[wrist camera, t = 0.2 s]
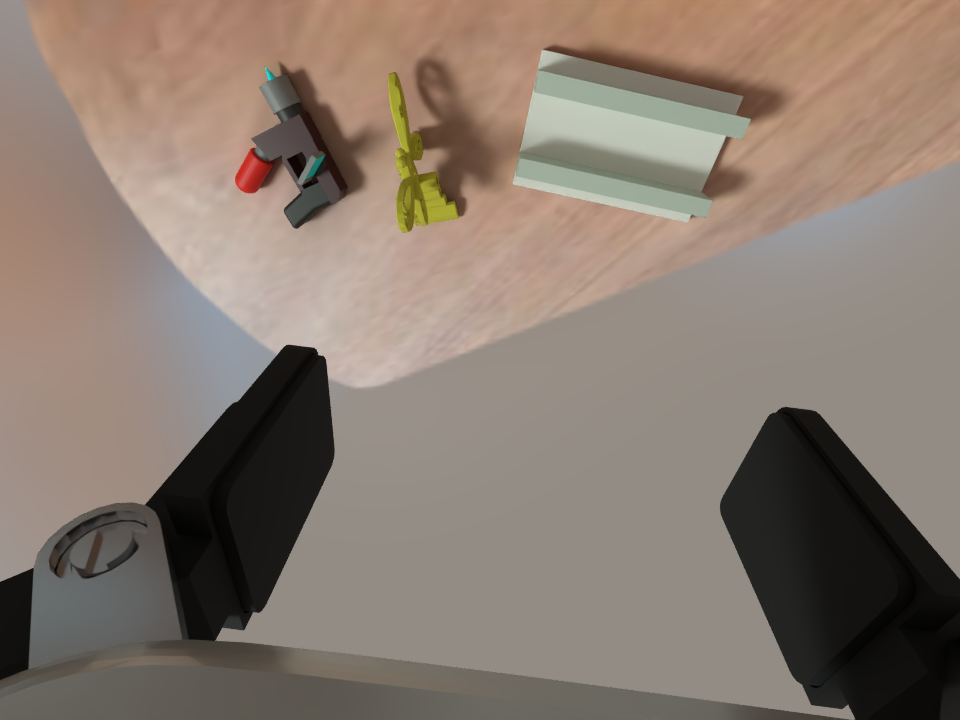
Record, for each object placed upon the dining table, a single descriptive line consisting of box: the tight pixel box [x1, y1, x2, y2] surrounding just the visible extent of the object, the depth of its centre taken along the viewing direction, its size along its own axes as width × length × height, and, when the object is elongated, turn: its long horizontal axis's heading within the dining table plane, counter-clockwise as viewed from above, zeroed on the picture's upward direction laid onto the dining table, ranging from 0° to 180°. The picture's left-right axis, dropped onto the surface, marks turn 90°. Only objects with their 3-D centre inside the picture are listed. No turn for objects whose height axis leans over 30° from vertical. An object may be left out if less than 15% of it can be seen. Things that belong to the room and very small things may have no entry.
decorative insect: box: [388, 72, 459, 233], centre depth 39 cm, size 13×3×10 cm
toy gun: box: [235, 67, 347, 229], centre depth 40 cm, size 10×12×5 cm
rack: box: [513, 50, 751, 223], centre depth 38 cm, size 10×16×4 cm, turn 79°
